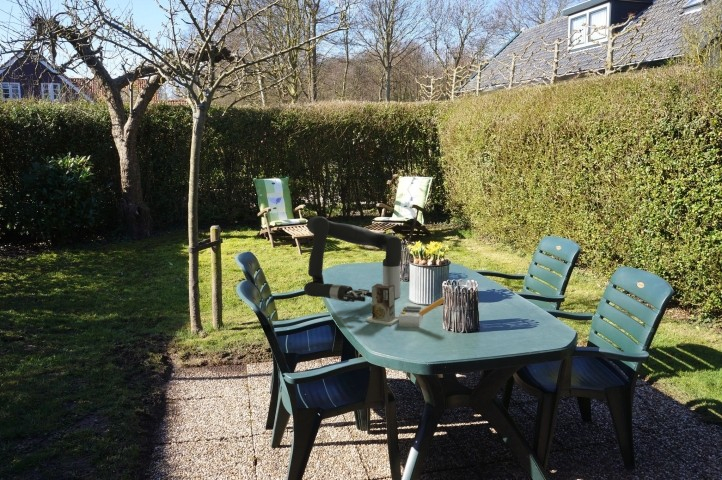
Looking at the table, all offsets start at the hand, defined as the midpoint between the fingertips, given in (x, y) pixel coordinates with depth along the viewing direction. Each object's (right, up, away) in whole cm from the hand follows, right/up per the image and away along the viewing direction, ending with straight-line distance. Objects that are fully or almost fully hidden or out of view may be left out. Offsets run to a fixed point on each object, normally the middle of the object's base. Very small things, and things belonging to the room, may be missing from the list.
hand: (369, 297), depth 263 cm
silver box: (+19, -11, -6) cm, 22 cm away
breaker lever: (+22, -6, -10) cm, 26 cm away
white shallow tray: (+6, -10, -3) cm, 12 cm away
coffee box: (+6, -10, -3) cm, 12 cm away
